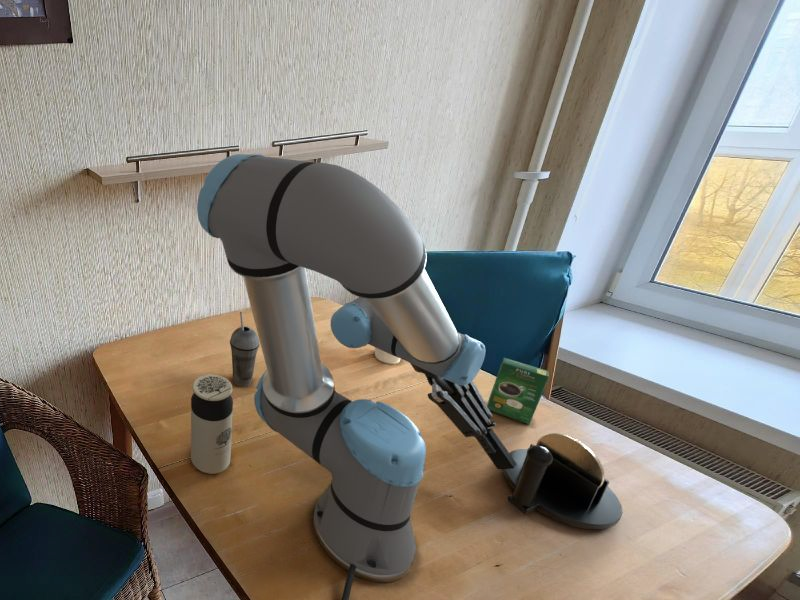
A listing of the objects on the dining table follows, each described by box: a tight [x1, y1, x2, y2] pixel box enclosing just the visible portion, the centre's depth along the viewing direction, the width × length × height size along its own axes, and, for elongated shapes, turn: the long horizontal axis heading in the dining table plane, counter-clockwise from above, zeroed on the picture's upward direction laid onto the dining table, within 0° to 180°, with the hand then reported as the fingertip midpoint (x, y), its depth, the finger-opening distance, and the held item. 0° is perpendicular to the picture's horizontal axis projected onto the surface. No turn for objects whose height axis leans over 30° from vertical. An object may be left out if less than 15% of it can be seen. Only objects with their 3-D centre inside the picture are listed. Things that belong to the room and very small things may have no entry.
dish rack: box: [502, 432, 623, 530], centre depth 74 cm, size 20×16×13 cm
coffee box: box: [486, 357, 550, 425], centre depth 94 cm, size 8×3×13 cm, turn 49°
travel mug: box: [190, 373, 234, 475], centre depth 83 cm, size 8×8×18 cm
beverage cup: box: [229, 311, 260, 388], centre depth 106 cm, size 7×7×20 cm
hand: (507, 466), depth 74 cm, fingers closed
